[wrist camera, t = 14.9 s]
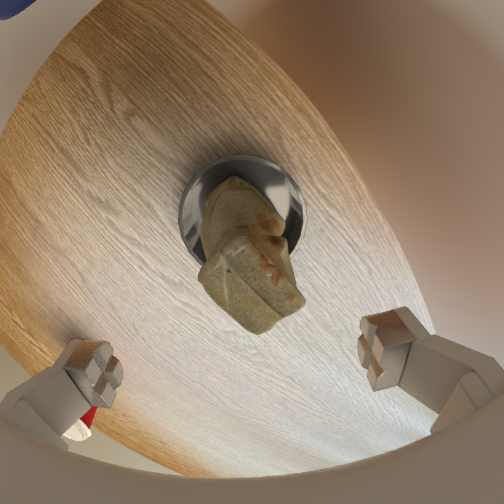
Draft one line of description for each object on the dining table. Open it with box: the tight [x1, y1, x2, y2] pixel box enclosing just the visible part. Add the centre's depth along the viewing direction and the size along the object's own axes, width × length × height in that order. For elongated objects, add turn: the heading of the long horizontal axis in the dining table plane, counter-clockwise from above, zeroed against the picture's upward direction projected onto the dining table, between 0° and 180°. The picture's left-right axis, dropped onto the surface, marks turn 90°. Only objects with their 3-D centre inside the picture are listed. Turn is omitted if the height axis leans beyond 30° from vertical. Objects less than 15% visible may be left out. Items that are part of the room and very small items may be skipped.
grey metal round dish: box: [178, 154, 307, 266], centre depth 24 cm, size 11×11×4 cm
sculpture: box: [198, 175, 306, 335], centre depth 19 cm, size 6×7×15 cm
